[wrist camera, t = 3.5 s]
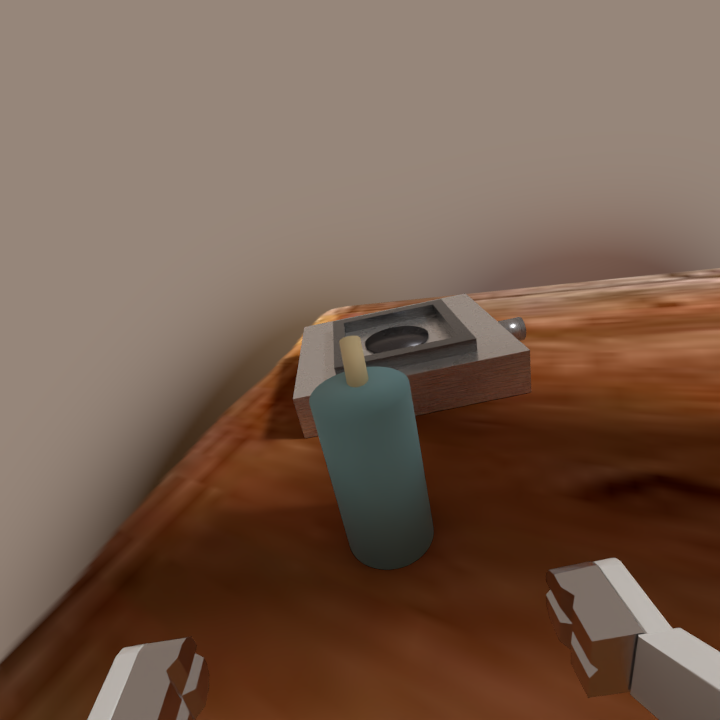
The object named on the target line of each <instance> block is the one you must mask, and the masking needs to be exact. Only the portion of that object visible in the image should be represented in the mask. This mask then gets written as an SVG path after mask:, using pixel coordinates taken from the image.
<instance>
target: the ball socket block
mask: <svg viewBox="0 0 720 720" xmlns="http://www.w3.org/2000/svg"><path fill="white" fill-rule="evenodd" d="M347 336H359V337H360V339H361V344H362V349H363V353H364V358H365V363H366V367H388V368H392V369H396V370H398V371H400V372H402V373H404V374H405V375H406V376H407V378H408V379H409V383H410V389H411V395H412V401H413V407H414V413H415V416H416V415H421V414H426V413H431V412H436V411H441V410H446V409H451V408H455V407H460V406H465V405H470V404H475V403H480V402H485V401H490V400H495V399H499V398H504V397H509V396H514V395H519V394H524V393H529V392H531V370H530V350H529V349H528V348H527V347H526V346H525V345H523V344H522V343H521V342H520V340H524V339H525V338H526V328H525V324H524V322H523V320H522V318H520V317H517V318H513V319H508V320H503V321H498V322H497V321H496V320H495V319H494V318H493V317H491V316H490V315H489V314H488V313H487V312H486V311H485V310H484V309H482V308H481V307H480V306H479V305H478V304H477V303H476V302H474V301H473V300H472V299H471V298H470V297H469V296H468V295H466V294H461V295H456V296H451V297H447V298H442V299H437V300H432V301H427V302H423V303H418V304H413V305H408V306H404V307H399V308H394V309H389V310H384V311H380V312H375V313H370V314H365V315H361V316H356V317H351V318H346V319H341V320H337V321H332V322H327V323H322V324H318V325H313V326H308V327H304V333H303V340H302V346H301V352H300V358H299V364H298V370H297V377H296V383H295V389H294V395H293V401H294V405H295V408H296V411H297V414H298V418H299V421H300V424H301V428H302V431H303V434H304V438H309V437H314V436H318V432H317V429H316V425H315V422H314V418H313V415H312V411H311V408H310V404H309V399H310V396H311V394H312V392H313V391H314V390H315V388H316V387H317V386H319V385H320V384H321V383H322V382H324V381H325V380H327V379H329V378H331V377H333V376H335V375H337V374H340V373H342V372H345V371H344V365H343V360H342V354H341V349H340V344H339V341H340V340H341V339H342V338H344V337H347Z"/></svg>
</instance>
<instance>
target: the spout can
mask: <svg viewBox="0 0 720 720" xmlns="http://www.w3.org/2000/svg"><path fill="white" fill-rule="evenodd" d="M339 344H340V349H341V354H342V360H343V365H344V371H345V372H342V373H340V374H337V375H335V376H333V377H331V378H329V379H327V380H325V381H324V382H322V383H321V384H320V385H319V386H317V387H316V388H315V390H314V391H313V392H312V394H311V396H310V399H309V404H310V408H311V411H312V415H313V418H314V422H315V425H316V429H317V432H318V436H319V439H320V443H321V446H322V450H323V453H324V457H325V461H326V464H327V468H328V471H329V475H330V478H331V482H332V485H333V489H334V492H335V496H336V499H337V503H338V506H339V510H340V513H341V517H342V520H343V524H344V528H345V531H346V535H347V538H348V542H349V545H350V548H351V551H352V553H353V554H354V555H355V557H356V558H357V559H358V560H359V561H361V562H362V563H363V564H365V565H367V566H370V567H372V568H376V569H384V570H390V569H397V568H401V567H404V566H407V565H409V564H411V563H413V562H415V561H416V560H418V559H419V558H420V557H421V556H423V555H424V553H425V552H426V551H427V550H428V548H429V547H430V545H431V542H432V539H433V534H434V528H433V522H432V516H431V510H430V504H429V498H428V492H427V486H426V480H425V474H424V468H423V462H422V456H421V449H420V443H419V437H418V431H417V425H416V419H415V413H414V407H413V401H412V395H411V389H410V383H409V379H408V378H407V376H406V375H405V374H404V373H402V372H400V371H398V370H396V369H392V368H388V367H366V363H365V358H364V353H363V349H362V344H361V339H360V337H359V336H347V337H344V338H342V339H341V340H340V341H339Z"/></svg>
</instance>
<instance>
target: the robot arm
mask: <svg viewBox="0 0 720 720" xmlns="http://www.w3.org/2000/svg"><path fill="white" fill-rule="evenodd" d="M546 582H547V584H548V586H549V588H550V591H549V592H548V593H547V594H546V604H547V609H548V613H549V617H550V620H551V623H552V625H553V628H554V630H555V632H556V634H557V636H558V638H559V641H560V642H561V643H563V644H564V645H565V646H567V647H568V648H569V649H571V665H572V667H573V669H574V671H575V673H576V675H577V677H578V679H579V681H580V683H581V685H582V687H583V689H584V690H585V692H586V694H587V696H588V698H590V697H597V696H604V695H611V694H618V693H624V692H630V694H631V695H632V696H633V697H634V698H635V699H636V700H637V701H638V702H640V703H641V704H642V705H643V706H644V707H645V708H646V709H648V710H649V711H650V712H651V713H652V714H653V715H654V716H656V717H657V718H658V719H659V720H720V652H719V651H718V650H716V649H714V648H713V647H711V646H709V645H708V644H706V643H704V642H703V641H701V640H699V639H698V638H696V637H695V636H693V635H691V634H690V633H688V632H686V631H685V630H683V629H681V628H673V629H672V627H671V626H670V625H669V623H668V622H667V621H666V619H665V618H664V617H663V616H662V614H661V613H660V612H659V610H658V609H657V608H656V606H655V605H654V604H653V603H652V601H651V600H650V599H649V597H648V596H647V595H646V593H645V592H644V591H643V590H642V588H641V587H640V586H639V584H638V583H637V582H636V580H635V579H634V578H633V577H632V575H631V574H630V573H629V571H628V570H627V569H626V567H625V566H624V565H623V564H622V562H621V561H619V560H618V559H617V558H608V559H603V560H599V561H594V562H590V561H589V562H584V563H579V564H574V565H569V566H565V567H560V568H555V569H550V570H548V571H547V573H546ZM196 648H197V644H196V642H195V641H194V639H193V637H192V636H191V637H185V638H179V639H173V640H167V641H161V642H155V643H149V644H142V645H136V646H131V647H125V648H123V649H122V650H121V651H120V652H119V653H118V655H117V656H116V657H115V659H114V662H113V664H112V666H111V668H110V670H109V673H108V675H107V677H106V679H105V681H104V684H103V686H102V688H101V690H100V692H99V695H98V697H97V699H96V701H95V703H94V706H93V708H92V710H91V712H90V715H89V717H88V719H87V720H195V719H196V718H197V716H198V715H199V714H200V712H201V711H202V710H203V708H204V707H205V705H206V700H207V696H208V691H209V670H208V665H207V663H206V661H205V659H204V657H202V656H200V655H198V654H196V653H195V652H196Z"/></svg>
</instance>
